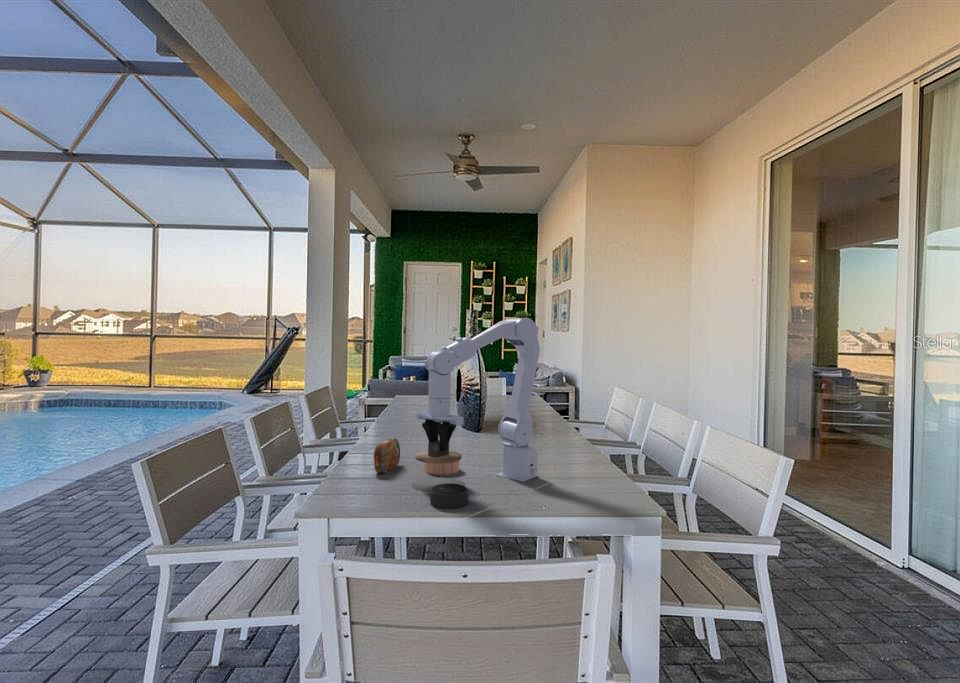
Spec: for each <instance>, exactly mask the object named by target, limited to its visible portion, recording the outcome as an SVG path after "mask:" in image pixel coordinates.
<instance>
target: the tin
mask: <svg viewBox="0 0 960 683" xmlns="http://www.w3.org/2000/svg"><path fill="white" fill-rule="evenodd" d="M400 457H401V447H400V442H399V440H398V439H397V438H389V439H385V440H384V441H382V442H380V443H379V444H377V445H376V446H375V448H374V452H373V458H374V459H373V460H374V470H375V472H376V473H377V474H387V473H388V472H390V471H391V470H393V469H395V468H397V467H398V465H399V462H400Z"/></svg>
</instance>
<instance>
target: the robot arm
mask: <svg viewBox="0 0 960 683" xmlns="http://www.w3.org/2000/svg"><path fill="white" fill-rule="evenodd" d="M538 334H539V327H538V325H537V324H536V323H535V322H534V320H533V319H531V318H529V317H522V318H521V317H520V318H519V317H518V318H513V317H508V318H505V319H504V320H500V321H498V322H497V323H495V324H494V325H492V326H490V327H489V328H487V329H486V330H484V331H482V332H480V333H478V334H477V335H475V336H474V337H472V338H471V339H470V338H469V337H466V336H465V337H457V338H456V339H455V340H456V341H455V342H453V343H451V344H449V345H447V346H446V345H443V346H442V347H441V348H440V349H441V350H440V351H432V352H431V353H429V354H428V356H427V358H426V361H424V366H425V369H426V370H427V371H428V392H427V393H428V396H427V397H428V399H427V401H428V404H427V406H428V407H427V408H428V410H427V411H416V413H415V414H416V415H415V417H416V418H415V419H416V420H418V421H419V420H423V421H424V422H422V423H421V427H422V428H423V430H424V432H425V434H426V437H427V440H428V443H429V442H433V441H438V440H440V451H442V452H443V451H447V449H448V445H449V446H450V440H451V438H452V435H453V433H454V431H455V429H456V428H457V426H463V425H464V416H459V415H455V414H451V393H452V392H451V391H452V390H451V387H452V384H451V382H452V380H451V377H452V375H451V373H452V372H454V370H455V368H456V367H458V366H459V365H462V364H463V363H465V362H466V361H468V360H470V359H472V358H474V357H475V356H476V354H477V350H480V349H481V348H483V347H486V346H487V345H489V344H492V343H494V342H496V341H498V340H500V339H505V340H506V341H508V342H509V344H511V345H513V346H514V348H515V349H516V350H517V351H518V353H519V355H518V361H517V366H516V369H515V370H516V371H515V376H514V382H513V388H512V392H511V396H510V403H509V407H508V408H507V409H506V411H505V412H503V416H502V419H501V421H500V422H499V424H498V427H497V432H498V436H499V437H500V438H501V443H502V445H501V472H497V473H495V474H494V475H495V476H496V477H499V478H503V479H504V478H505V479H509V480H514V481H520V482H526V481H529V480H532V479H534V478H536V477H537V478H538V477H539V474H538V452H537V449H536V448H535V447H532V446H530V444H531V442H532V440H533V439H534V438H533V437H534V429H533V423H534V419H533V418H532V415H531V414H530V407H531V406H530V405H531V400H532V396H533V390H534V384H535V380H536V379H535V378H536V373H537V367H538V362H539V357H540V352H541V348H540V342H539V338H538Z"/></svg>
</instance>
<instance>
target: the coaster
mask: <svg viewBox="0 0 960 683" xmlns="http://www.w3.org/2000/svg"><path fill="white" fill-rule="evenodd" d="M439 484H459V485H463V486H465V487H466V483H465V482H464V481H462V480H460V479H457V478H453V477H442V476H441V477H426V478H420V479H417V480H414V481H413V482H412V483H411V484H410V486H411V488H413V489H415V490H416V491H420V492H426V493H430V490H431V489H432V488H433V487H434V486H436V485H439Z"/></svg>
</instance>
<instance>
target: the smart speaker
mask: <svg viewBox="0 0 960 683" xmlns="http://www.w3.org/2000/svg"><path fill="white" fill-rule="evenodd" d="M429 493H430V494H429V502H430V504H431V506H433V507H435V508H439V509H451V510H452V509H460V508H463V507H465V506H467V504H468V503H469V489H468V488H467V487H466V485H465V486H463V485H459V484H439V485H436V486H434V487H433V488H432V489H431V490H430V492H429Z"/></svg>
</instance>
